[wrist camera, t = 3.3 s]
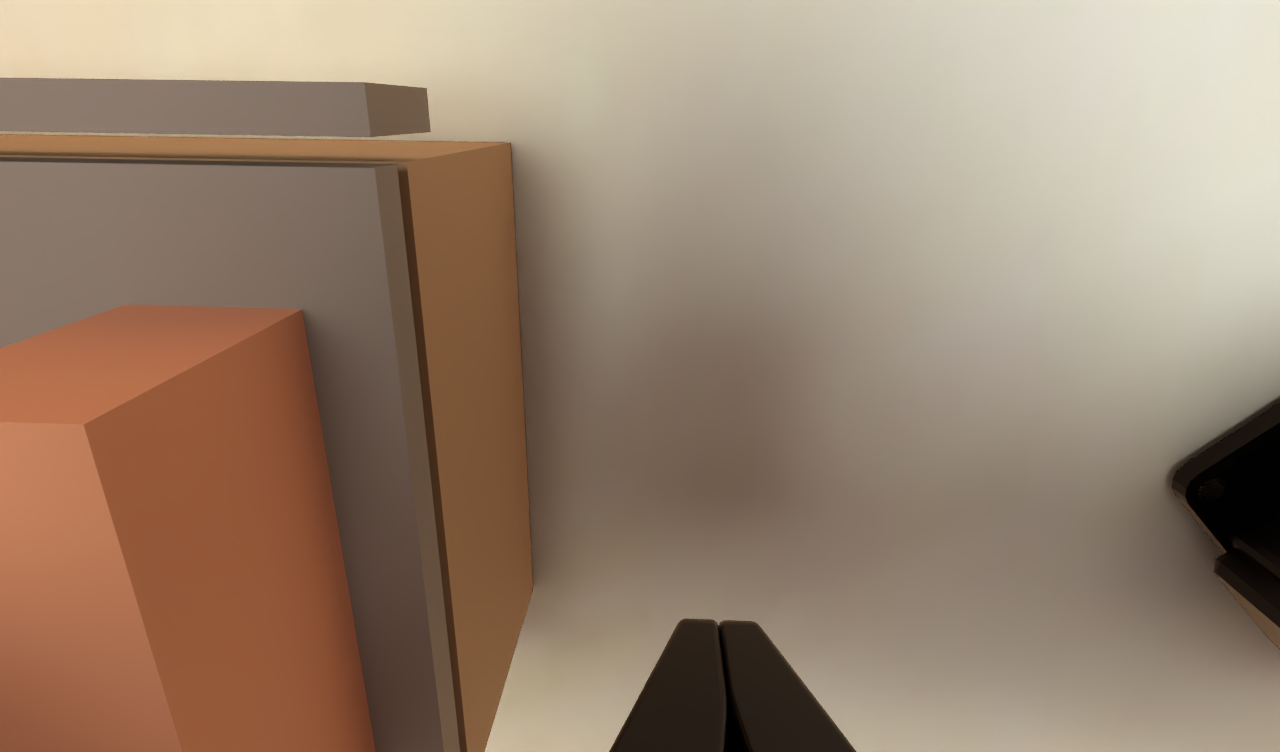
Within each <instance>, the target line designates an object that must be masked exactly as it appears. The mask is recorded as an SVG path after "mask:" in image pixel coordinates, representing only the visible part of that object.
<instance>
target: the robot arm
mask: <svg viewBox="0 0 1280 752" xmlns="http://www.w3.org/2000/svg"><path fill="white" fill-rule="evenodd" d="M1208 480H1210V482H1209V484H1208V485H1207V486H1206V487H1205V488H1203V489H1201V490H1199V487H1200V486H1201V485H1202V484H1203V483H1204V482H1205V481H1208ZM1172 489H1173V491H1174V493H1175V495H1176V496H1177V497H1178V499H1179V500H1180V501H1181V502H1182V503H1183V505H1184V506H1185V507H1186V508H1187V510H1188V511H1189V512H1190V513H1191V515H1192V516H1193V517H1194V518H1195V519H1196V521H1197V522H1198V523H1199V524H1200V526H1201V527H1202V528H1203V529H1204V530H1205V532H1206V533H1207V534H1208V535H1209V537H1210V538H1211V539H1212V540H1213V542H1214V543H1215V544H1216V545H1217V546H1218V548H1219V549H1220V550H1221V551H1222V553H1223V554H1222V555H1220V556H1219V557H1217V558H1215V560H1214V573H1215V574H1216V576H1217V577H1218V578H1219V579H1220V580H1221V582H1222V583H1223V584H1224V585H1225V586H1226V588H1227V589H1228V590H1229V591H1230V592H1231V594H1232V595H1233V596H1234V597H1235V599H1236V600H1237V601H1238V602H1239V603H1240V605H1241V606H1242V607H1243V608H1244V609H1245V611H1246V612H1247V613H1248V614H1249V615H1250V617H1251V618H1252V619H1253V620H1254V622H1255V623H1256V624H1257V625H1258V626H1259V628H1260V629H1261V630H1262V631H1263V632H1264V634H1265V635H1266V636H1267V637H1268V638H1269V639H1270V640H1271V641H1272V642H1273V643H1274V644H1275V645H1276V646H1277V647H1279V648H1280V403H1279V404H1278V405H1276V406H1275V407H1273V408H1272V409H1270V410H1269V411H1267V412H1265V413H1264V414H1262V415H1261V416H1259V417H1258V418H1256V419H1255V420H1253V421H1252V422H1250V423H1248V424H1247V425H1245V426H1244V427H1242V428H1241V429H1239V430H1238V431H1236V432H1234V433H1233V434H1231V435H1230V436H1228V437H1227V438H1225V439H1224V440H1222V441H1220V442H1219V443H1217V444H1216V445H1214V446H1213V447H1211V448H1210V449H1208V450H1206V451H1205V452H1203V453H1202V454H1200V455H1199V456H1197V457H1196V458H1194V459H1193V460H1191V461H1189V462H1188V463H1186V464H1185V465H1184V466H1183V467H1181V468H1180V469H1179V470H1178V471H1177V473H1176V474H1175V476H1174V478H1173V482H1172ZM609 752H856V750H855V749H854V748H853V746H852V745H851V744H850V743H849V741H848V740H847V739H846V737H845V736H844V735H843V733H842V732H841V731H840V730H839V728H838V727H837V726H836V724H835V723H834V722H833V720H832V719H831V718H830V717H829V715H828V714H827V713H826V711H825V710H824V709H823V707H822V706H821V705H820V704H819V702H818V701H817V700H816V698H815V697H814V696H813V694H812V693H811V692H810V691H809V689H808V688H807V687H806V685H805V684H804V683H803V682H802V680H801V679H800V678H799V676H798V675H797V674H796V672H795V671H794V670H793V669H792V667H791V666H790V665H789V663H788V662H787V661H786V659H785V658H784V657H783V656H782V654H781V653H780V652H779V650H778V649H777V648H776V646H775V645H774V644H773V643H772V641H771V640H770V639H769V637H768V636H767V635H766V633H765V632H764V631H763V630H762V628H761V627H760V626H759V625H758V624H757V623H755V622H752V621H734V620H723V621H722V622H720V624H719V626H718V624H717V623H716V622H715V621H714V620H710V619H682V620H681V621H680V622H679V623H678V624H677V626H676V628H675V630H674V632H673V634H672V636H671V637H670V639H669V641H668V643H667V645H666V647H665V649H664V651H663V652H662V654H661V656H660V658H659V660H658V662H657V664H656V665H655V667H654V669H653V671H652V673H651V675H650V677H649V679H648V680H647V682H646V684H645V686H644V688H643V690H642V692H641V693H640V695H639V697H638V699H637V701H636V703H635V705H634V707H633V708H632V710H631V712H630V714H629V716H628V718H627V720H626V721H625V723H624V725H623V727H622V729H621V731H620V733H619V735H618V736H617V738H616V740H615V742H614V744H613V746H612V748H611V749H610V751H609Z"/></svg>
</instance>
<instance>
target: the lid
mask: <svg viewBox="0 0 1280 752" xmlns="http://www.w3.org/2000/svg"><path fill="white" fill-rule="evenodd" d="M0 131H31V132H93V133H156V134H219V135H281V136H344V137H376V136H388V135H400V134H412V133H424V132H430V121H429V110H428V99H427V88H418V87H407V86H396V85H386V84H375V83H362V82H284V81H206V80H128V79H50V78H0ZM0 752H460V746H459V736H458V727H457V718H456V708H455V699H454V690H453V681H452V671H451V662H450V653H449V643H448V634H447V625H446V616H445V606H444V597H443V588H442V579H441V569H440V560H439V551H438V541H437V532H436V523H435V514H434V504H433V495H432V486H431V476H430V467H429V458H428V449H427V439H426V430H425V421H424V412H423V402H422V393H421V384H420V374H419V365H418V356H417V347H416V337H415V328H414V319H413V309H412V300H411V291H410V282H409V272H408V263H407V254H406V245H405V235H404V226H403V217H402V207H401V198H400V189H399V180H398V170H397V164H366V163H309V162H252V161H195V160H138V159H81V158H24V157H0Z"/></svg>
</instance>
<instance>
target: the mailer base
mask: <svg viewBox="0 0 1280 752" xmlns="http://www.w3.org/2000/svg"><path fill="white" fill-rule="evenodd" d="M0 157H24V158H81V159H138V160H195V161H252V162H309V163H366V164H397V170H398V180H399V189H400V198H401V207H402V217H403V226H404V235H405V245H406V254H407V263H408V272H409V282H410V291H411V300H412V309H413V319H414V328H415V337H416V347H417V356H418V365H419V374H420V384H421V393H422V402H423V412H424V421H425V430H426V439H427V449H428V458H429V467H430V476H431V486H432V495H433V504H434V514H435V523H436V532H437V541H438V551H439V560H440V569H441V579H442V588H443V597H444V606H445V616H446V625H447V634H448V643H449V653H450V662H451V671H452V681H453V690H454V699H455V708H456V718H457V727H458V736H459V746H460V752H485V748H486V745H487V742H488V738H489V735H490V731H491V728H492V725H493V721H494V718H495V715H496V711H497V708H498V705H499V701H500V698H501V695H502V691H503V688H504V684H505V681H506V678H507V674H508V671H509V668H510V664H511V661H512V658H513V654H514V651H515V648H516V644H517V641H518V638H519V634H520V631H521V627H522V624H523V621H524V617H525V614H526V611H527V607H528V604H529V601H530V597H531V594H532V591H533V574H532V554H531V535H530V515H529V495H528V476H527V456H526V436H525V417H524V397H523V378H522V358H521V338H520V319H519V299H518V279H517V260H516V240H515V220H514V201H513V181H512V161H511V143H505V142H444V141H382V140H320V139H258V138H196V137H134V136H73V135H11V134H0Z"/></svg>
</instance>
